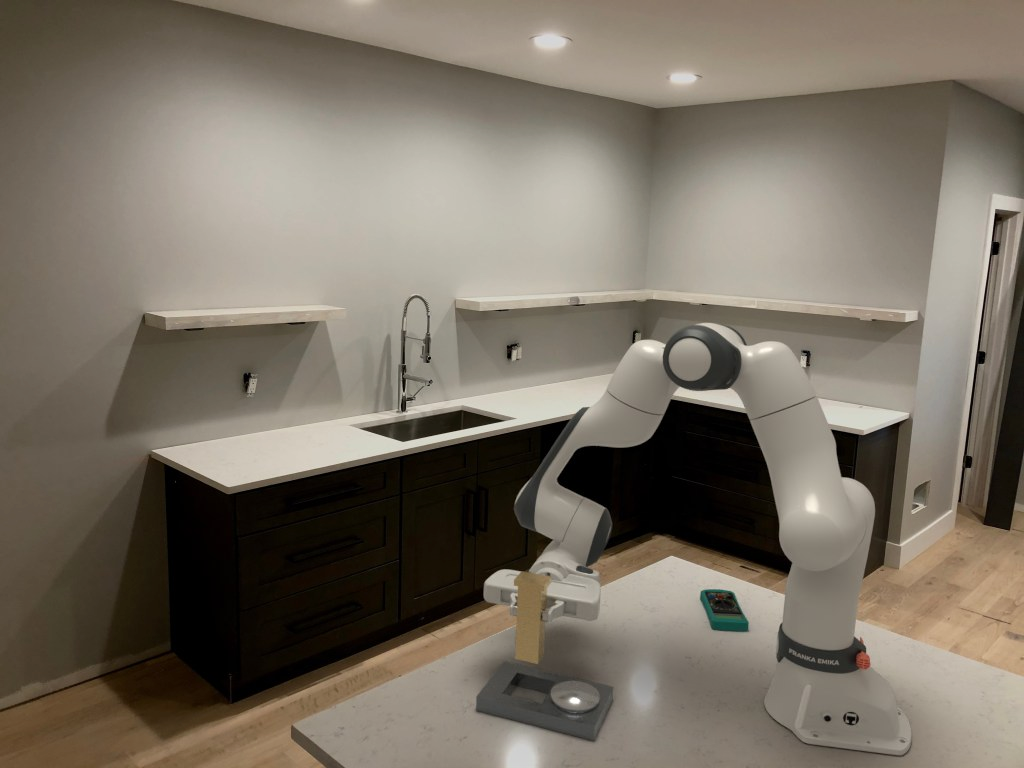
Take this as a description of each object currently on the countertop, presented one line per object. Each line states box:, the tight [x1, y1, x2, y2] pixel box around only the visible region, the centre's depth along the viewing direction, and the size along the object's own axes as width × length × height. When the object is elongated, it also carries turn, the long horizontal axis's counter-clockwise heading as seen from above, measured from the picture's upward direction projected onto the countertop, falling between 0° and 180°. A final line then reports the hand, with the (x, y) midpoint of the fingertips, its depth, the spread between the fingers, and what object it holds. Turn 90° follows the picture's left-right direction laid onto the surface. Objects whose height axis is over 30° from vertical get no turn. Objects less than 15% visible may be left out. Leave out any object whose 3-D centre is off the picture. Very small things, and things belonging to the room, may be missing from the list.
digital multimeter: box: [699, 588, 750, 632], centre depth 167 cm, size 7×15×3 cm, turn 177°
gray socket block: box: [475, 660, 615, 742], centre depth 133 cm, size 20×12×3 cm, turn 69°
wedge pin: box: [514, 570, 552, 665], centre depth 131 cm, size 5×4×14 cm
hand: (529, 614), depth 130 cm, fingers closed on wedge pin, 4 cm apart
